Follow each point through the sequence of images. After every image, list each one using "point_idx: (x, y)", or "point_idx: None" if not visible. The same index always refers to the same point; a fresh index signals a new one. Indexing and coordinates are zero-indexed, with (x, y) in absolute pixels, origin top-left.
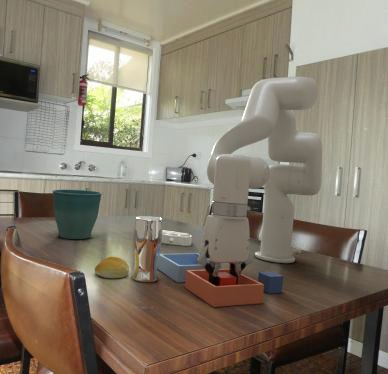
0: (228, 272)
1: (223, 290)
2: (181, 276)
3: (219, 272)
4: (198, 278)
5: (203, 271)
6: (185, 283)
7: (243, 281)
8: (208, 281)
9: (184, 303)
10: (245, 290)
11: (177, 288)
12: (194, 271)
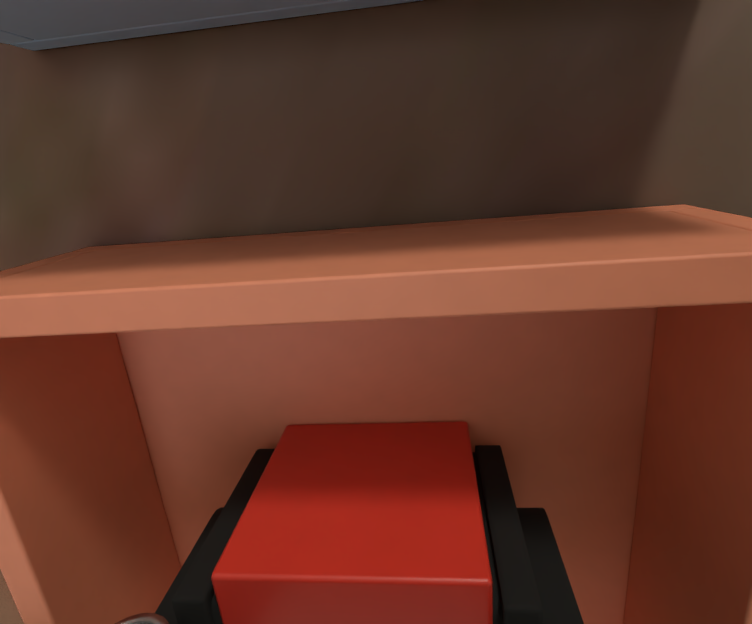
0: (510, 621)
1: None
2: (13, 26)
3: (355, 586)
4: (26, 598)
5: (195, 322)
6: (54, 258)
7: (692, 581)
8: (191, 553)
9: None
10: None
11: (8, 257)
12: (27, 334)
